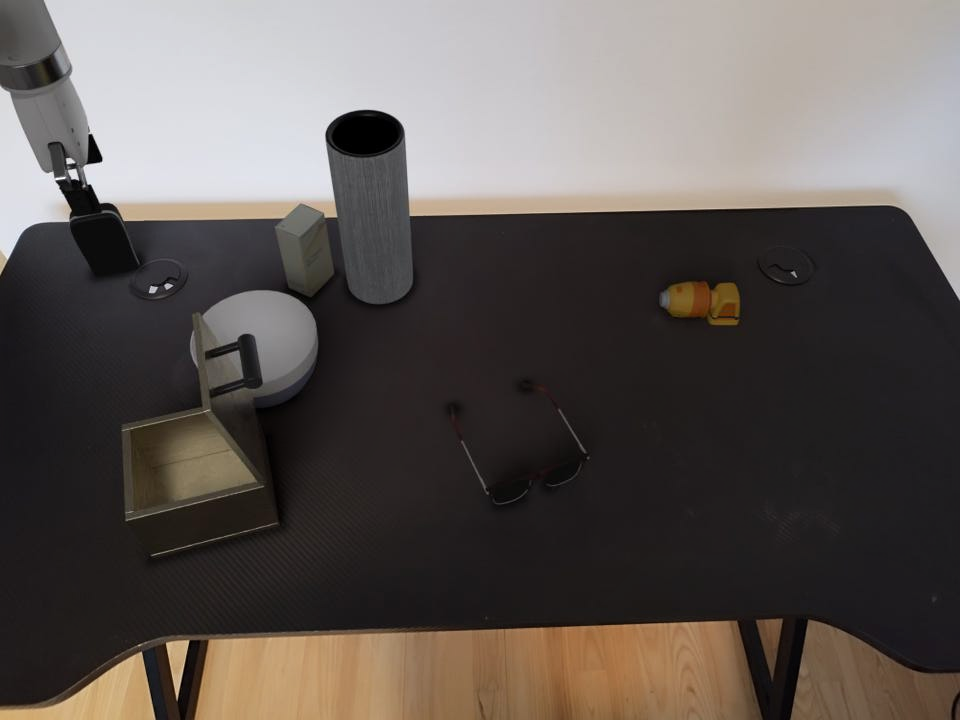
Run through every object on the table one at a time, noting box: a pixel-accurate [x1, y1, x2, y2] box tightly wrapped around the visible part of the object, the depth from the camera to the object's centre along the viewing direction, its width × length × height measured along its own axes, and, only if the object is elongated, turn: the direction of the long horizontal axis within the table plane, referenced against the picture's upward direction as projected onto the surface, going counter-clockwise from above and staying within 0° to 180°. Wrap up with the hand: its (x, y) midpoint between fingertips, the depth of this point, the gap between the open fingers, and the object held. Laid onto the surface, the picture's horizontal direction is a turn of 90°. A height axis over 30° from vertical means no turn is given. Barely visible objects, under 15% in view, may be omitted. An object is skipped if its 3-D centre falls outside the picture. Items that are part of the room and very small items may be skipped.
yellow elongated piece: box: [658, 280, 741, 326], centre depth 117 cm, size 5×6×12 cm
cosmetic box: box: [274, 202, 335, 298], centre depth 116 cm, size 6×4×12 cm
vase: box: [324, 109, 414, 305], centre depth 110 cm, size 10×10×27 cm
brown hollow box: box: [121, 406, 281, 559], centre depth 94 cm, size 15×13×10 cm
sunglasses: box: [450, 382, 590, 505], centre depth 102 cm, size 14×16×5 cm
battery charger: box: [68, 202, 140, 278], centre depth 117 cm, size 7×4×11 cm, turn 109°
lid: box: [191, 312, 267, 485], centre depth 85 cm, size 16×13×5 cm
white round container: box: [189, 289, 319, 409], centre depth 105 cm, size 16×16×10 cm
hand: (89, 187), depth 98 cm, fingers open, 9 cm apart
